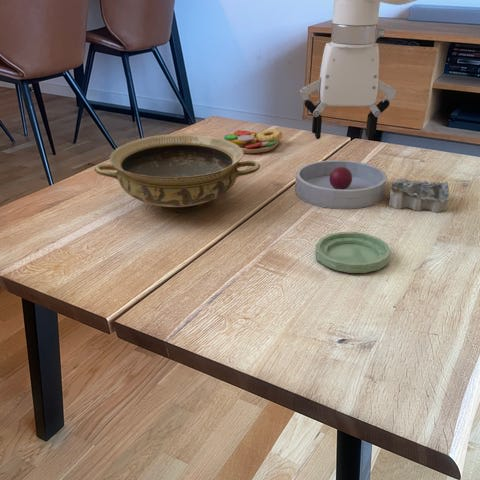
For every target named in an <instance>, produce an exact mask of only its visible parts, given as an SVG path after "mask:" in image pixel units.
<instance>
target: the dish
mask: <svg viewBox="0 0 480 480" xmlns="http://www.w3.org/2000/svg"><path fill="white" fill-rule="evenodd" d="M338 167H345V168H347V169H348V170H349V171H350V172H351V174H352V182H351V184H350V186H349V187H348V188H346V189H344V190H340V189H335V188H333V187H332V186H331V184H330V181H329V177H330V174H331V172H332V171H333V170H334V169H335V168H338ZM387 180H388V176H387V174H386V172H385V170H383V169H381V168H380V167H377V166H375V165H372V164H369V163H364V162H362V161H361V162H360V161H353V160H345V159H344V160H339V159H331V160H319V161H314V162H310V163H307V164H304V165H302V166H301V167H299V168H298V169H297V170H296V173H295V187H294V188H295V194H296V195H297V197H298V198H299V199H301V200H302V201H304V202H306V203H308V204H312V205H314V206H318V207H322V208H326V209H327V208H328V209H337V210H353V209H361V208H368V207H370V206H374V205H376V204H378V203H379V202H381V201H382V200H383V199H384V198H385V193H386V187H387V182H388V181H387Z"/></svg>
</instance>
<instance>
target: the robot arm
mask: <svg viewBox="0 0 480 480" xmlns="http://www.w3.org/2000/svg"><path fill="white" fill-rule="evenodd" d="M416 1H417V0H333V6H332V7H333V9H332V21H331V35H330V42H327V43H325V46H324V49H323V53H322V59H321V65H320V71H319V78H318V79H317V80H315V81H313V82H311V83H309V84H308V85H305V86H304V87H301V88H300V89H299V90H298V91H299V95H300V98H301V100H302V102H303V104H304V107H305V108H306V109H307V110H308V111H309V113H311V115H312V125H311V133H312V134H314V137H315V140H320V139H321V136H322V135H321V133H322V123H323V117H322V113H323V112H324V111H325V109H326V108H327V107H368V109H369V110H370V111H369V112H368V114H367V118H366V127H365V136H366V138H367V139H369V140H373V137H374V134H376V133H377V128H378V127H377V126H378V119H379V117H380V116H381V114H382V113H383V112H385V110H386V109H388V108H389V107H390V104H391V103H392V101H393V100H394V98H395V97H396V95H397V93H398V92H397V89H395V88H393V87H392V86H391V85H389V84H387V83H385V82H384V81H382V80H380V79H379V73H380V71H379V70H380V47H379V44H378V43H376V42H377V40H378V39H379V38H384V37H385V35H386V28H385V27H381V26H379V24H378V21H379V14H380V7H381V3H383V4H386V5H387V4H388V5H392V6H393V5H394V6H402V5H403V6H404V5H407V4H410V3H412V2H416ZM379 90H380V91H381V92H382V93H385V95H384V97H383V99H381V100H380V102H378V103H377V104H376V101H377V98H378V91H379ZM316 91H317V93H318V94H317V95H318V100H317V102H316V103H315V104H314V103H313V102H312V100H311V99H310V97H309V96H310V94H312V93H314V92H316Z"/></svg>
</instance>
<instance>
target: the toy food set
mask: <svg viewBox="0 0 480 480" xmlns="http://www.w3.org/2000/svg"><path fill="white" fill-rule="evenodd" d="M223 139H224V140H227V141H230V142H232V143H234V144H236V145H238V146H239V147H240V148H241V149H242V151H243V154H261V152H262V153H266V152H269V151H272V150H273V149H275V147H276V146H277V145H278V144H279V141H281V140H282V139H283V132H282V130H280V129H277V128H269V129H265V130H262V131H259V132H258V133H256V132H254V131H249V130H242V129H240V130H239V129H238V130H236V131H234V132H232V133H230V134H226V135H224V136H223Z"/></svg>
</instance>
